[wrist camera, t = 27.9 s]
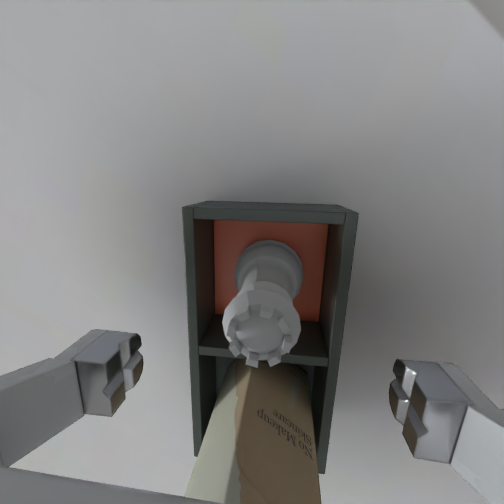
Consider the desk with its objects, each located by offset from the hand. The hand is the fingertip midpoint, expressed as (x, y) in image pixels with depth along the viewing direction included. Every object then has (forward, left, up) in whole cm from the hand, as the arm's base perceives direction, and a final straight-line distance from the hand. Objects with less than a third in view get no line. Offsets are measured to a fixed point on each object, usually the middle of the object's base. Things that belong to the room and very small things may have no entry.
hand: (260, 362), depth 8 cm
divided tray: (0, +4, -10) cm, 11 cm away
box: (0, +8, -10) cm, 13 cm away
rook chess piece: (0, 0, -10) cm, 10 cm away
